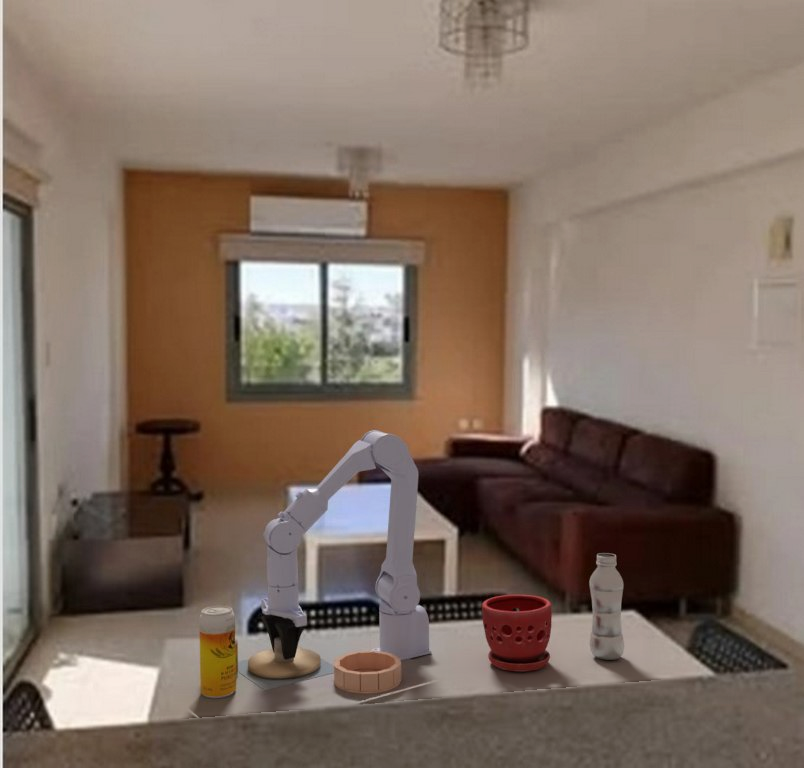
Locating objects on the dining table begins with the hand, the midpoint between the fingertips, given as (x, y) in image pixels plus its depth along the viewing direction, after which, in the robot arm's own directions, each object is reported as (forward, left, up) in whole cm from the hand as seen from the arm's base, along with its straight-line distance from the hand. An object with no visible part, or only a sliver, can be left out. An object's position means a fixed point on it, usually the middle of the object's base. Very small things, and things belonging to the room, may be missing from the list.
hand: (284, 654), depth 171 cm
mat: (0, 0, -3) cm, 3 cm away
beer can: (+15, +4, -3) cm, 16 cm away
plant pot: (-37, +24, -3) cm, 44 cm away
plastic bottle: (-53, +32, -3) cm, 62 cm away
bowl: (-9, +15, -3) cm, 18 cm away
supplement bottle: (+11, -3, -3) cm, 12 cm away
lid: (0, 0, -2) cm, 2 cm away
